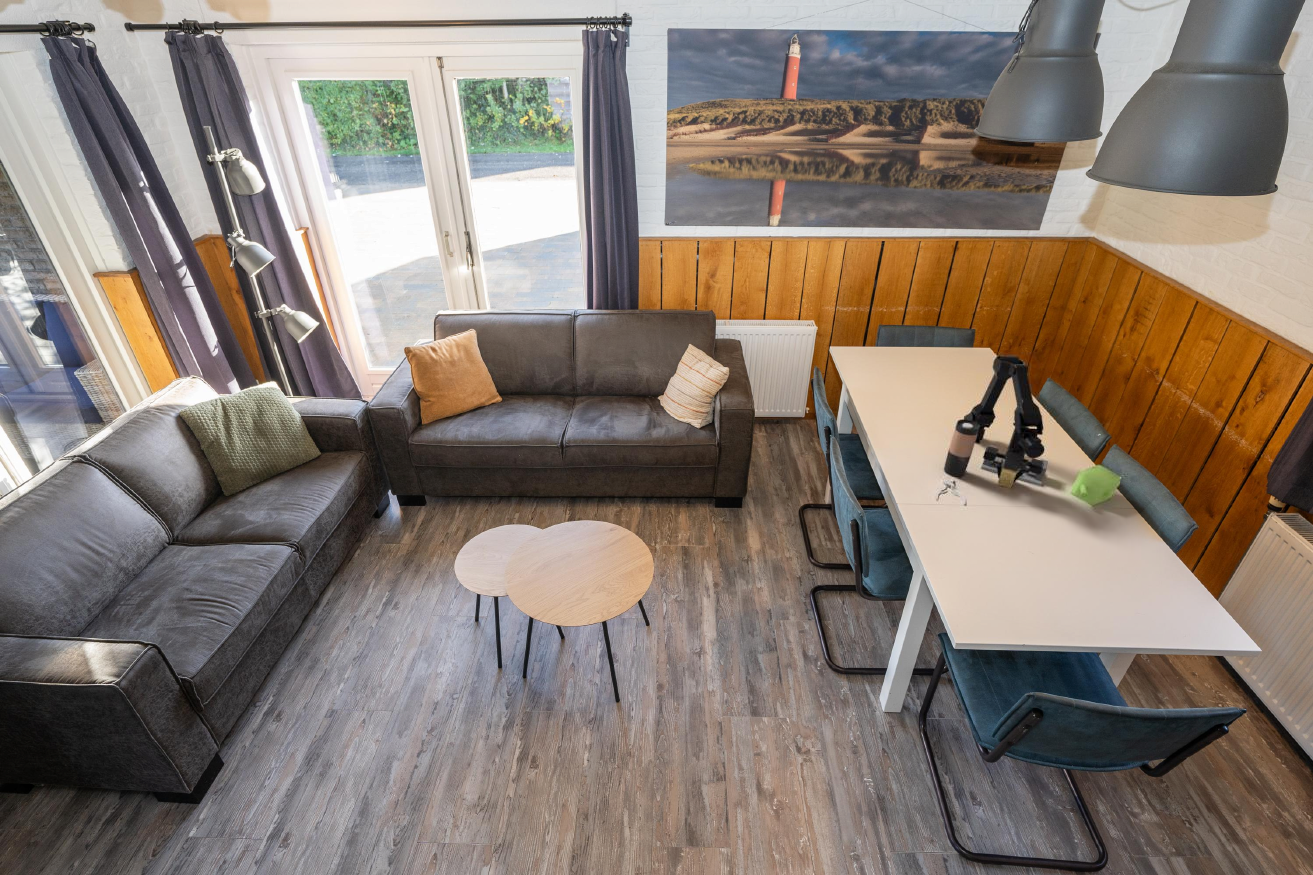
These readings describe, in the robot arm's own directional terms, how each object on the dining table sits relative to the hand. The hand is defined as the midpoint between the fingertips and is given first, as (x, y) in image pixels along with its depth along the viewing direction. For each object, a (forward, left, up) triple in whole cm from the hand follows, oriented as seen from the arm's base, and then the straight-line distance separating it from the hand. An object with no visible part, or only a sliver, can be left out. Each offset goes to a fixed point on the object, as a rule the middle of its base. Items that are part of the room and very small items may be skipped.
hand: (1006, 479), depth 238 cm
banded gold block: (0, 0, -1) cm, 1 cm away
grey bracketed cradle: (+1, +10, -1) cm, 10 cm away
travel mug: (-17, -3, -1) cm, 17 cm away
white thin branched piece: (-16, -17, -2) cm, 23 cm away
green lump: (+27, +7, -2) cm, 28 cm away
